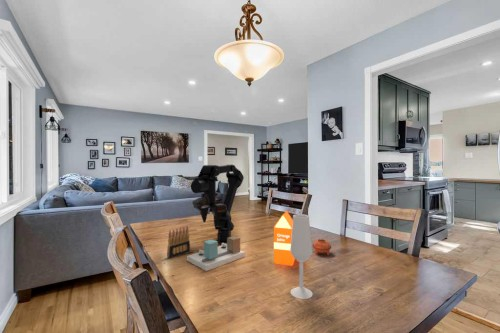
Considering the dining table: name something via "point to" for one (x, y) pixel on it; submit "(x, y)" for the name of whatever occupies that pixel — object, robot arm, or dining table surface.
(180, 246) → the ammunition clip
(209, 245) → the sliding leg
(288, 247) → the orange juice
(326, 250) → the pot
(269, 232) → the dining table surface
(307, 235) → the champagne flute
